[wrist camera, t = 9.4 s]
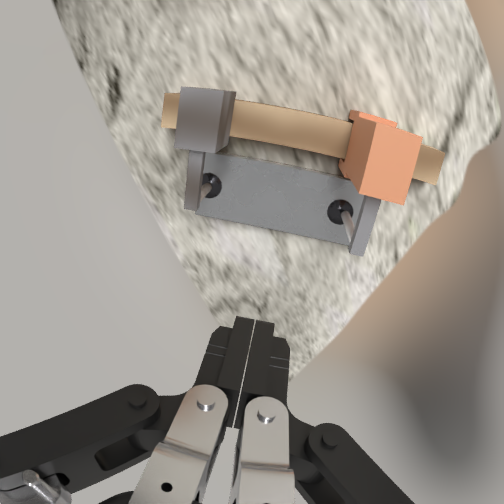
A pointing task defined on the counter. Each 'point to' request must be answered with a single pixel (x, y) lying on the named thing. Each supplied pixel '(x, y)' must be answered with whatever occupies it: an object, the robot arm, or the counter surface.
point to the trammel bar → (258, 132)
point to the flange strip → (278, 196)
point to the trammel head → (376, 170)
